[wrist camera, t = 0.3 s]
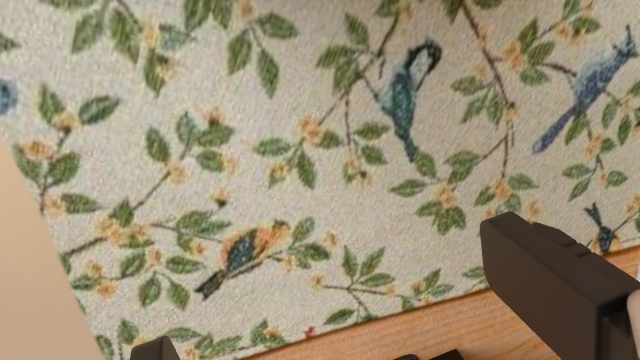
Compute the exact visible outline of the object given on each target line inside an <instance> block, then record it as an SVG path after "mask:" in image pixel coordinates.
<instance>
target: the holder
mask: <svg viewBox="0 0 640 360" xmlns="http://www.w3.org/2000/svg"><path fill="white" fill-rule="evenodd" d="M430 360H464V359H463V358H462V356H461V355H460V354H459V352H458V351H457V350H456V349H454V350H452V351H449V352H447V353H445V354H442V355H440V356H437V357H435V358H432V359H430Z"/></svg>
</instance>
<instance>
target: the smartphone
mask: <svg viewBox="0 0 640 360" xmlns="http://www.w3.org/2000/svg"><path fill="white" fill-rule="evenodd" d="M394 360H418V358H417V357H416V356H415V355H413V354H408V355H404V356H402V357H399V358H397V359H394Z"/></svg>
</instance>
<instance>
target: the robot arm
mask: <svg viewBox="0 0 640 360" xmlns="http://www.w3.org/2000/svg"><path fill="white" fill-rule="evenodd" d="M480 236H481V246H482V257H483V267H484V273H485V276H486V279H487V281H488V283H489V285H490V287H491V288H492V290H493V291H494V292H495V293H496V295H497V296H498V297H499V298H500V299H501V300H502V301H503V302H504V303H505V304H507V305H508V306H509V307H510V308H511V309H512V310H513V311H514V312H515V313H516V314H517V315H518V316H519V317H520V318H521V319H522V320H523V321H524V322H525V323H526V324H527V325H528V326H529V327H530V328H531V329H532V330H533V331H534V332H535V333H536V334H537V335H538V336H539V337H540V338H541V339H542V340H543V341H544V342H545V343H546V344H547V345H548V346H549V347H550V348H551V349H552V350H553V351H554V352H555V353H556V354H557V355H558V356H559V357H560V358H561V359H562V360H640V282H639V281H637V280H636V279H634V278H633V277H631V276H630V275H628V274H627V273H625V272H624V271H622V270H620V269H619V268H617V267H616V266H614V265H613V264H611V263H610V262H608V261H607V260H605V259H604V258H602V257H601V256H599V255H597V254H596V253H594V252H593V253H592V252H591V251H590V249H588V248H587V247H585V246H584V245H582V244H581V243H577V242H576V240H574V239H573V238H571V237H570V236H568V235H567V234H565V233H564V232H562V231H561V230H559V229H556V228H553V227H550V226H547V225H543V224H540V223H534V224H530V223H529V222H527V221H526V220H524V219H523V218H521V217H520V216H518V215H517V214H516V213H514V212H511V211H508V212H505V213H503V214H500V215H497V216H494V217H492V218H489V219H486V220H483V221H482V222H481V224H480ZM130 360H180V358H179V356H178V354H177V352H176V350H175V348H174V346H173V344H172V342H171V340H170V339H169V337H168V336H163V337H160V338H157V339H154V340H152V341H149V342H146V343H143V344H141V345H138V346H135V347H133V348H132V351H131V357H130Z"/></svg>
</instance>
